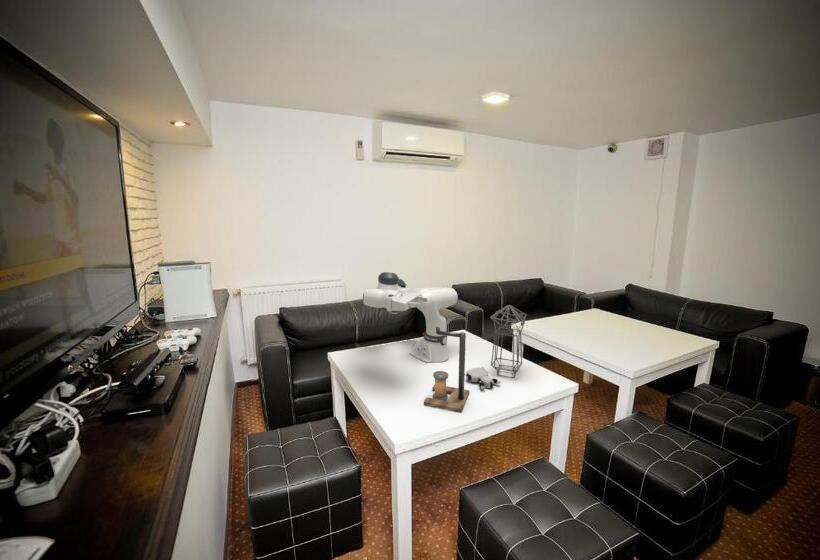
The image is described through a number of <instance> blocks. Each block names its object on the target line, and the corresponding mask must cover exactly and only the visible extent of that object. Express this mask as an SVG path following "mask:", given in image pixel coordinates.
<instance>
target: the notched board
mask: <svg viewBox="0 0 820 560" xmlns="http://www.w3.org/2000/svg"><path fill="white" fill-rule="evenodd" d="M431 389H432V392H435V384H433V386H432V388H431ZM446 394H447V395H450V396H449V397H448V399H447V400H446V401H443V400H438V399H433V397H428V396H426V398H425V399H424V400H423V405H424V406H425V407H432V408H435V409H441V410H446V411H451V412H456V413H460V414H462V413H463V410H464V408H465V405H466V403H467V401H468V398H469V396H470V390H469V389H465V388H464V399H463V400H459V399H458V387H453V386H447V385H446Z"/></svg>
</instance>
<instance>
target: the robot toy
mask: <svg viewBox="0 0 820 560" xmlns="http://www.w3.org/2000/svg"><path fill="white" fill-rule="evenodd" d="M464 377H466V379H468V380H469V381H470V382H472V383H479V384H478V385H479V388H480V389H481V390H482V389H483V390H484V389H485V388H488V389H491V388H493V387H494V384H495V385H500V384H501V383H502V382H501V381H500V380H498V379H496V378H493V377H490V376H489V371H488V370H486V369H485V368H484V367H483V366H482V367H475V368H471V369H468V370H466V371H465V376H464Z"/></svg>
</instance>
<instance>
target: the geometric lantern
mask: <svg viewBox="0 0 820 560" xmlns="http://www.w3.org/2000/svg"><path fill="white" fill-rule="evenodd" d="M511 313H513V314H511ZM500 314H501V315H502V317H501V318H497V317H498V316H499V315H500ZM511 316H513V317H514V319H513V318H511ZM527 316H528V314H527V313H525V312H523V311H521V310H519V309H517V308H516V307H514V306H513V305H511V304H509V305H508V304H507V305H505V306H504V307H501V308H500V309H498V310H496V311H495V313H494V314H492V315H491V316H490V317H489V318H490V319H491V320H492V322H493V324H494V325H493V327H494V335H493V343H492V353H491V361H490V366H491V367H493V369H495V371H496V374H497V376H499V377H504V378H509V377H510V379H513V378H516V377H515V376H516V374H517V372H518V371H519V370H520V369H521V366H522V365H523V351H522V350H523V349H522V347H523V345H522V343H523V342H522V332H523V328H524V325H525V324H526V323H525V322H526V319H527ZM504 317H505V318H506V319H504ZM499 321H500V322H501V323H500V322H499ZM504 321H505V323H504V324H503V322H504ZM508 323H510V324H508ZM518 323H520V325H519V327H518V325H517V324H518ZM496 324H497V326H498V328H496ZM512 325H515V326H516V328H512V327H510V326H512ZM520 328H521V329H520ZM504 329H507V330H509V331H510V333H511V334H512V335H511V334H507V333H506V334H505V333H504ZM513 330H514V331H516V333H514V332H513ZM517 334H518V335H517ZM500 335H501V340H500ZM504 336H507V337H512V359H509V358H508V359H507V358H502V354H503V353H502V352H503V342H504V341H503V339H504ZM515 337H516V360H515ZM499 341H501V344H500V343H499ZM499 344H500V353H498V350H499ZM498 354H500V357H499V358H498ZM519 358H520V359H519ZM498 360H500V361H498ZM502 360H505V361H510V362H512V366H511V365H504V364H501V363H502ZM519 360H520V361H519ZM496 362H497V363H498V366H496ZM503 367H506V368H503ZM507 367H509V368H512V369H509V368H507ZM503 370H504V371H503ZM499 373H504V374H505V373H506V374H511V376H508V375H502V374H499Z"/></svg>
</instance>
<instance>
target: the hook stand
mask: <svg viewBox="0 0 820 560" xmlns="http://www.w3.org/2000/svg"><path fill="white" fill-rule="evenodd" d="M436 334H438V335H445V336H447V337H454V338H459V345H458V346H459V347H458V349H459V351H458V353H459V355H458V357H459V358H458V383H457V385H458V387H457V388H458V399H459V400H463V399H464V389H465V377H466V376H465V375H466V367H465V366H466V336H467V334H466V332H459V333H458V332H451V331H446V332H444V331H440V327H436Z"/></svg>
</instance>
